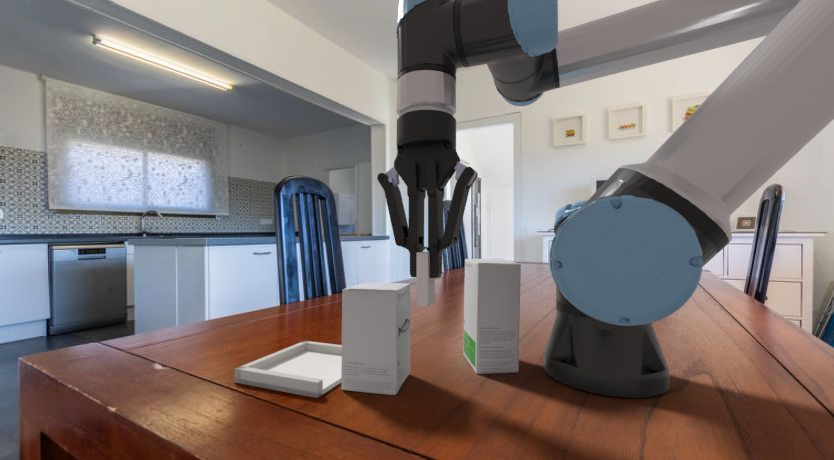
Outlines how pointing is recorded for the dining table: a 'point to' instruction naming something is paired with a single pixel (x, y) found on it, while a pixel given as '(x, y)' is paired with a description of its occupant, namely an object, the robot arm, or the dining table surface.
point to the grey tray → (296, 369)
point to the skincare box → (492, 315)
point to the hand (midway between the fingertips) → (425, 303)
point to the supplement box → (375, 337)
